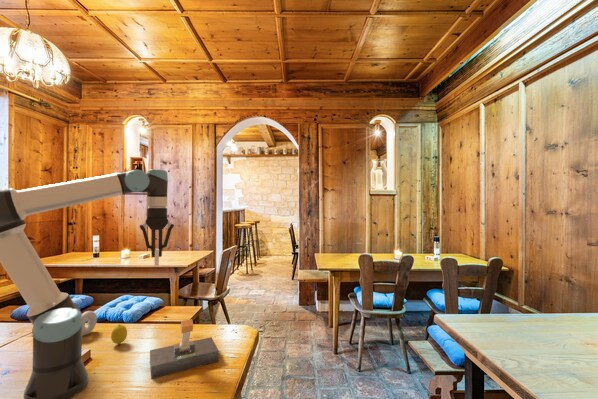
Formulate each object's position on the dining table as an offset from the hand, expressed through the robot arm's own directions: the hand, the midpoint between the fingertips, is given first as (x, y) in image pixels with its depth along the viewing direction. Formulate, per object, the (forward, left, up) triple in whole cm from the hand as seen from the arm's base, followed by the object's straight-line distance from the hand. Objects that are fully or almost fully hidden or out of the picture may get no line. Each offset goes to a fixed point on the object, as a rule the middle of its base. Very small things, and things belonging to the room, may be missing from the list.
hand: (156, 264), depth 119 cm
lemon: (-13, +7, -33) cm, 36 cm away
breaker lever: (+9, -18, -28) cm, 35 cm away
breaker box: (+8, -19, -32) cm, 39 cm away
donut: (-26, +24, -33) cm, 48 cm away
